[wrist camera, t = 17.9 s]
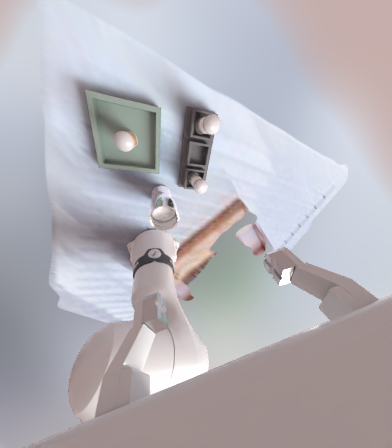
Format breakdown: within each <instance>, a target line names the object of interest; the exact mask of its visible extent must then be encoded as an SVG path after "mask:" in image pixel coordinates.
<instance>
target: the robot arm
mask: <svg viewBox="0 0 392 448" xmlns="http://www.w3.org/2000/svg"><path fill="white" fill-rule="evenodd" d="M178 247H179V242H178V241H176V240H174V239H173V238H172V237H171V236H170V235H169V234H168V233H167V232H165V231H161V230H157V229H152V230H147V231H144V232H142V233H141V234H139V235H138V236H137V237H136V239H135V240H134V241H132V242H130V243H128V244H127V249H128V251H129V253H130V256H131V257H130V261H131V262H132V265H133V266H134V269H133V278H134V283H133V290H132V297H131V301H132V306H133V308H134V310H135V313H134V320H132V321H119V322H110V323H106V324H105V325H103V326H102V327H101V328H99V329H98V330H97V331H96V332H95V333H94V334H93V335H92V336H91V337H90V338H89V339H88V341H87V342H86V343H85V344H84V346H83V347H82V349H81V350H80V352H79V354H78V356H77V358H76V360H75V363H74V365H73V368H72V371H71V375H70V379H69V389H68V392H69V402H70V406H71V408H72V411H73V413H74V414H75V415H77V416H78V417H79V419H80V421H81V424H79V425H77V426H74V427H72V428H70V429H67V430H65V431H62V432H60V433H57V434H55V435H53V436H50V437H48V438H46V439H43V440H41V441H38V442H36V443H33V444H32V445H29V446H26V447H24V448H392V295H390V296H387V297H385V298H382V299H380V300H379V299H377V298H376V297H374V296H373V295H372V294H371V293H369V292H368V291H367V290H365V289H364V288H363V287H361V286H360V285H359V284H357V283H356V282H355V281H353V280H352V279H349V278H346V277H344V276H341V275H339V274H336V273H333V272H330V271H328V270H325V269H322V268H319V267H317V266H314V265H311V264H308V263H303V262H302V261H301V260H300V259H299V258H297V257H296V256H295V255H294V254H293V253H292V252H291V251H289V250H288V249H287V248H285V247H283V248H280V249H277V250H274V251H272V252H269V253H266V254H265V256H264V257H265V258H266V259H265V260H264V266H265V268H266V270H267V271H268V272H269V273H270V274H273V279H274V280H275V281H276V282H277V283H278V285H279V286H280V285H283V284H286V283H289V282H290V283H292V284H294V285H296V286H297V287H299V288H301V289H303V290H305V291H306V292H308V293H310V294H311V295H313V296H315V297H317V298H319V299H321V300H322V302H321V304H320V305H319V309H320V310H321V311H322V312H323V313H324V314H325V315H326V316H327V317H328V319H329V321H327V322H325V323H322V324H320V325H318V326H315V327H313V328H310V329H308V330H305V331H303V332H301V333H298V334H296V335H293V336H291V337H288V338H286V339H284V340H281V341H279V342H276V343H274V344H272V345H269V346H267V347H265V348H262V349H260V350H257V351H255V352H252V353H250V354H248V355H245V356H243V357H240V358H238V359H236V360H233V361H231V362H228V363H226V364H224V365H221V366H219V367H216V368H214V369H212V370H209V371H208V365H209V359H208V352H207V348H206V346H205V344H204V342H203V340H202V339H201V338H200V337H199V336H198V335H197V334H196V333H195V331H194V330H193V328H192V327H191V325H190V323H189V322H188V320H187V318H186V316H185V314H184V312H183V310H182V307H181V305H180V303H179V300H178V297H177V294H176V289H175V283H174V277H173V275H174V267H175V262H176V258H177V256H176V252H177V250H178ZM131 248H132V249H131Z"/></svg>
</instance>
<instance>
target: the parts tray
mask: <svg viewBox="0 0 392 448" xmlns="http://www.w3.org/2000/svg"><path fill="white" fill-rule="evenodd" d="M85 94H86V99H87V105H88V110H89V116H90V121H91V126H92V132H93V137H94V143H95V148H96V154H97V159H98V165H99V167H100V168H109V169H118V170H127V171H137V172H146V173H155V174H159V166H160V128H161V108H159V107H155V106H151V105H147V104H143V103H139V102H134V101H130V100H126V99H122V98H118V97H114V96H110V95H105V94H101V93H97V92H93V91H89V90H85ZM119 131H125V132H126V131H131V132H133V133H135V134H136V136H137V138H138V144H137V146H135V147H134V148H133V149H132V150H130V151H128V152H125V151H122V150H120V149H119V148H118V147H117V146H116V145H115V142H114V136H115V134H116V133H117V132H119Z"/></svg>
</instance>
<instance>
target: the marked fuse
mask: <svg viewBox="0 0 392 448" xmlns="http://www.w3.org/2000/svg"><path fill="white" fill-rule="evenodd" d="M114 142H115V145H116V146H117V147H118V148H119V149H120V150H122V151H125V152H128V151H130V150H132V149H133V148H134V147H135V146H137V144H138V138H137V136H136V134H135V133H133V132H131V131H126V132H125V131H119V132H117V133H116V134H115V136H114Z"/></svg>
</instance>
